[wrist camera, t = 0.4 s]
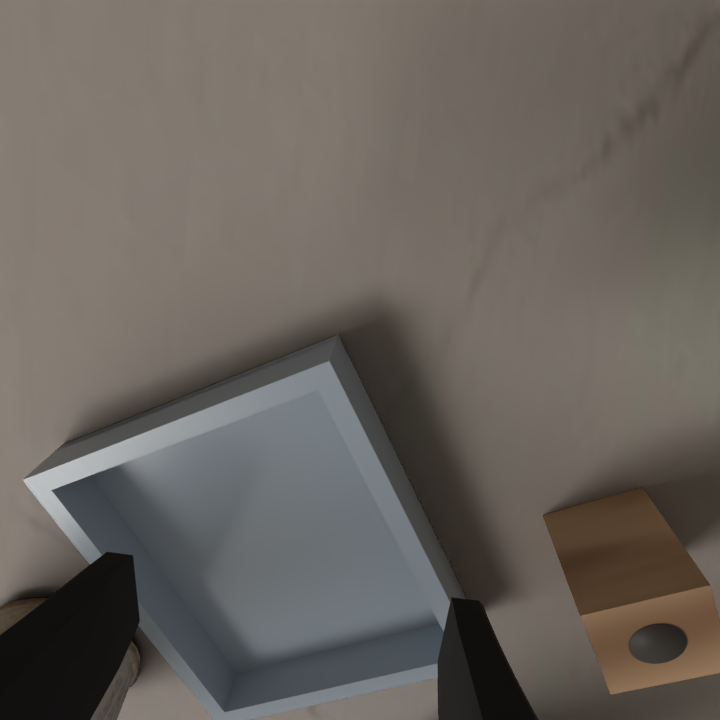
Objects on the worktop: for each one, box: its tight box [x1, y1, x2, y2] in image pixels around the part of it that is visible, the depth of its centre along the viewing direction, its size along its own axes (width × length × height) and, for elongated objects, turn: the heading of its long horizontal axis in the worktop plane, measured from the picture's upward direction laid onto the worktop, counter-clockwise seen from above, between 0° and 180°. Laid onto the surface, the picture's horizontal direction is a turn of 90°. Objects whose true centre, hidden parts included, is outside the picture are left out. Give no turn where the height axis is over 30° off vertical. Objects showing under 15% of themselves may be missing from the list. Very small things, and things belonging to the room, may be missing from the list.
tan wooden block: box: [543, 487, 720, 695], centre depth 19 cm, size 4×4×5 cm
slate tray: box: [23, 335, 466, 720], centre depth 22 cm, size 15×13×2 cm
